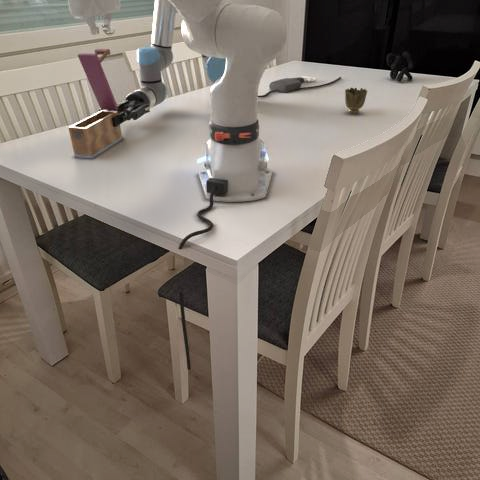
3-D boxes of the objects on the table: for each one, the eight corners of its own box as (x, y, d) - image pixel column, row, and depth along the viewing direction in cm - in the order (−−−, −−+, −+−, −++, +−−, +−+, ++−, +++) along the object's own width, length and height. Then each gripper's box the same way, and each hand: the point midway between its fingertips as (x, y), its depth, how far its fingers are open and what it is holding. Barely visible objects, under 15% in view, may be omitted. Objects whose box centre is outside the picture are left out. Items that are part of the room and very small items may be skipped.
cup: (340, 114, 157) (342, 91, 153) (346, 109, 163) (348, 86, 159) (361, 116, 154) (364, 93, 150) (366, 111, 160) (369, 88, 156)
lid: (95, 55, 121) (108, 40, 125) (77, 55, 122) (91, 39, 127) (116, 110, 134) (128, 94, 139) (100, 109, 136) (112, 93, 140)
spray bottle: (266, 89, 189) (298, 79, 205) (288, 93, 183) (318, 83, 199) (266, 82, 188) (298, 73, 204) (288, 85, 182) (319, 76, 198)
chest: (91, 158, 126) (85, 128, 121) (74, 157, 127) (68, 127, 123) (122, 139, 140) (118, 111, 135) (106, 137, 141) (101, 110, 136)
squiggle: (400, 92, 202) (376, 71, 205) (417, 76, 202) (392, 56, 205) (405, 81, 191) (380, 59, 194) (423, 64, 191) (397, 42, 194)
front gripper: (102, -25, 128) (110, 28, 135) (58, -23, 111) (70, 37, 119) (121, -25, 126) (129, 28, 134) (80, -23, 110) (91, 38, 117)
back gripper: (166, 114, 152) (134, 136, 133) (117, 110, 157) (80, 131, 138) (163, 91, 148) (130, 111, 129) (114, 88, 153) (74, 107, 134)
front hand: (101, 32), depth 126 cm, fingers open, 5 cm apart
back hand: (104, 121), depth 134 cm, fingers closed on chest, 6 cm apart
